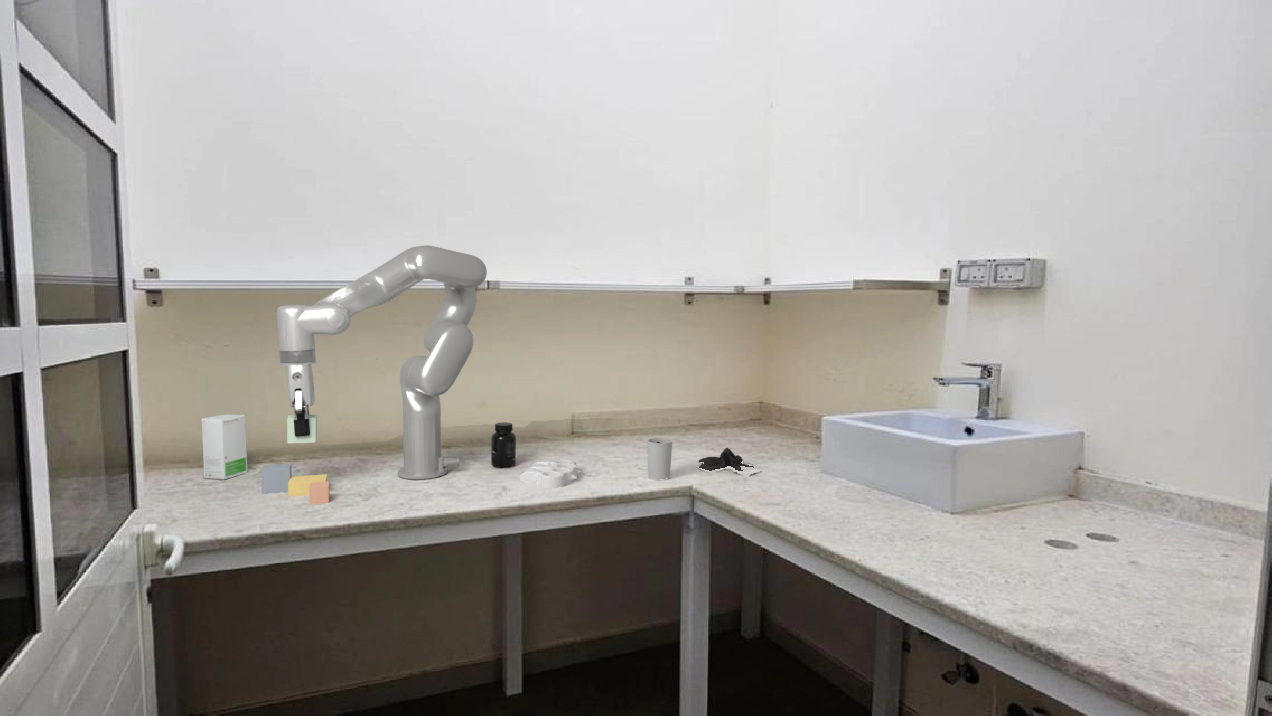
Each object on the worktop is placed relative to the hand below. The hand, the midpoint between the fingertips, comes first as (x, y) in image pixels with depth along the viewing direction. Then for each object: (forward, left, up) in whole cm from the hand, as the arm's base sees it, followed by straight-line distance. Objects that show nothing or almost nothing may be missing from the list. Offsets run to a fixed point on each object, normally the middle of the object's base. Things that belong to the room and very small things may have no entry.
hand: (303, 433), depth 160 cm
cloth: (-111, +9, -15) cm, 112 cm away
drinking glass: (-87, +14, -15) cm, 89 cm away
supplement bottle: (-50, -11, -15) cm, 53 cm away
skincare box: (+20, -23, -15) cm, 34 cm away
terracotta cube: (-4, +8, -15) cm, 17 cm away
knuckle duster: (-60, +6, -15) cm, 62 cm away
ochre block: (-1, -1, -15) cm, 15 cm away
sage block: (0, 0, -2) cm, 2 cm away
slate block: (+6, -4, -15) cm, 16 cm away
